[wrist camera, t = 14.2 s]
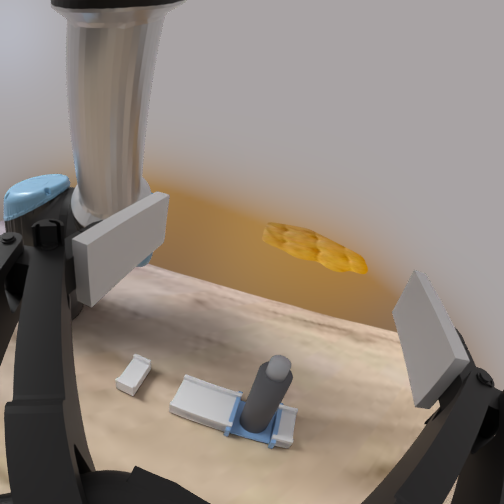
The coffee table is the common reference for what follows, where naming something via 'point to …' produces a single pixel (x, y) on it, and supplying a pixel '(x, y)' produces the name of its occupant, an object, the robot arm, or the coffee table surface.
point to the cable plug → (266, 394)
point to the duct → (213, 405)
